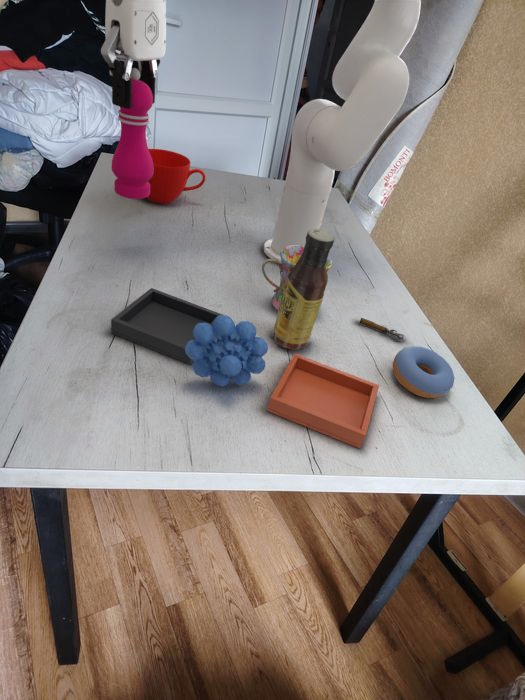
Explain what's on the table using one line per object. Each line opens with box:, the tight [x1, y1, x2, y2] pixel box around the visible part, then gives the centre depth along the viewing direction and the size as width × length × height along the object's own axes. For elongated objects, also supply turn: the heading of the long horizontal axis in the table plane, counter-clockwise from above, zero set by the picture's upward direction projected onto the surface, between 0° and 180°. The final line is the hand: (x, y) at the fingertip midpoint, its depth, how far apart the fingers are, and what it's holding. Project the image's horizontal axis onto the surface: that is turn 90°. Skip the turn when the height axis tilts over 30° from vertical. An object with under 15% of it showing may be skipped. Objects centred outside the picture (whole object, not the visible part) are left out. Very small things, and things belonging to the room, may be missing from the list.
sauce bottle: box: [272, 228, 336, 351], centre depth 75 cm, size 6×6×20 cm
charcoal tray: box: [110, 287, 224, 365], centre depth 76 cm, size 12×14×3 cm
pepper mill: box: [110, 67, 154, 200], centre depth 81 cm, size 7×7×20 cm
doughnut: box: [392, 345, 455, 399], centre depth 77 cm, size 10×10×5 cm
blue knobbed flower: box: [185, 314, 269, 388], centre depth 65 cm, size 12×7×12 cm, turn 102°
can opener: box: [359, 317, 406, 342], centre depth 88 cm, size 9×2×1 cm, turn 60°
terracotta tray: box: [266, 353, 380, 449], centre depth 69 cm, size 12×14×3 cm
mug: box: [261, 245, 333, 312], centre depth 86 cm, size 12×9×11 cm
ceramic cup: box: [146, 148, 206, 205], centre depth 116 cm, size 13×17×10 cm
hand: (134, 102), depth 78 cm, fingers closed on pepper mill, 6 cm apart
